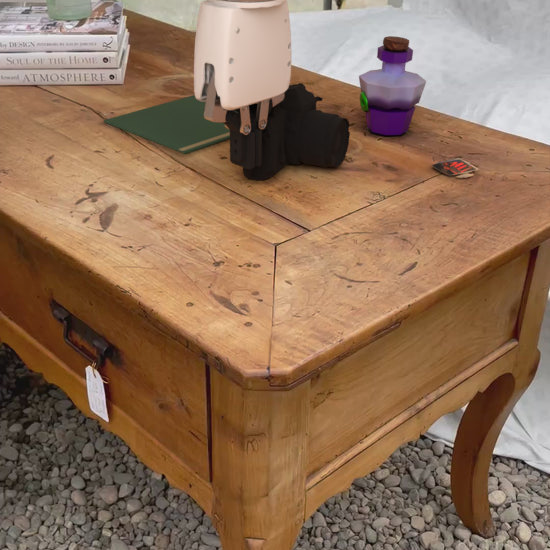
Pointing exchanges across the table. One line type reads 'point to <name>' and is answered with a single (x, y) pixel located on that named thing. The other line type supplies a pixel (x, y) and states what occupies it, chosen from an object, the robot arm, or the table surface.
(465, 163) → the matchbox
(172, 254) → the table surface
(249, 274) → the table surface
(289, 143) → the film camera
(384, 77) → the potion bottle
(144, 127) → the book
